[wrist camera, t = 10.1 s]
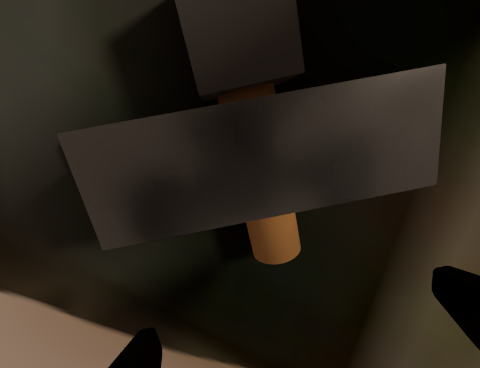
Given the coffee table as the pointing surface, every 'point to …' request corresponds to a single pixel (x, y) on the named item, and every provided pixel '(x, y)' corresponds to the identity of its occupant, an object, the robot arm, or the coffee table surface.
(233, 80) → the plug
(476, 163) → the coffee table surface
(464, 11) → the coffee table surface
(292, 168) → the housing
